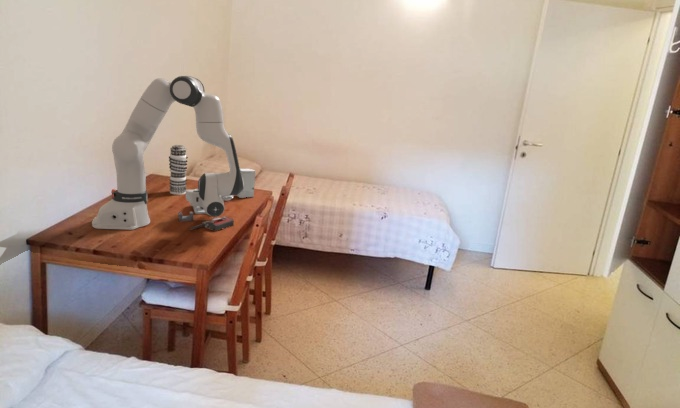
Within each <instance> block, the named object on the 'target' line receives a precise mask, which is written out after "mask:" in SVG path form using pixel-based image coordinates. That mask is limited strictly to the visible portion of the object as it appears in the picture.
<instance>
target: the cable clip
mask: <svg viewBox="0 0 680 408" xmlns="http://www.w3.org/2000/svg"><path fill="white" fill-rule="evenodd" d="M178 221H179V222H194V211H189V215H183V213H182V211H178Z"/></svg>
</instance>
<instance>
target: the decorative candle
mask: <svg viewBox="0 0 680 408" xmlns="http://www.w3.org/2000/svg"><path fill="white" fill-rule="evenodd" d="M187 159H188V156H187V148H186V147H185V146H184V145H181V144H174V145H172V146H171V147H170V154H169V156H168V162H169V167H168V168H169V171H170V176H169V178H170V179H169V186H168V187H169V193H170V194H172V195H175V196H176V195H178V196H180V195H181V196H182V195H186V190H188V189H187V175H186V173H187V172H188V171H187V170H188V169H187V168H188V167H186V166H187V165H188V160H187Z"/></svg>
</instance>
